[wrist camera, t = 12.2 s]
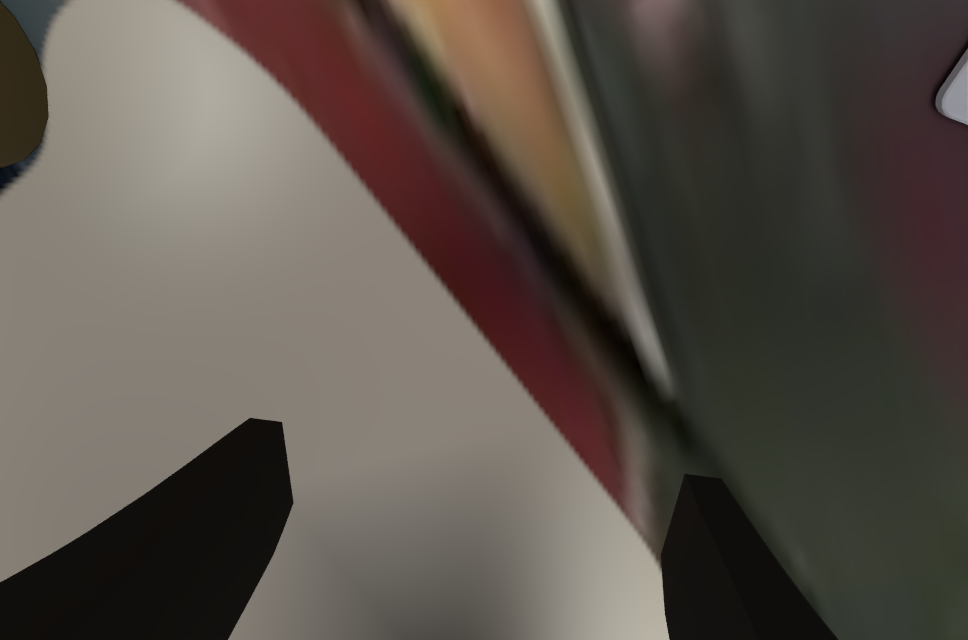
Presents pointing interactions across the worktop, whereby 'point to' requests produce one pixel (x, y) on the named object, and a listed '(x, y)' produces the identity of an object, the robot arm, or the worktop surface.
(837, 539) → the worktop surface
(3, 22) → the cork
